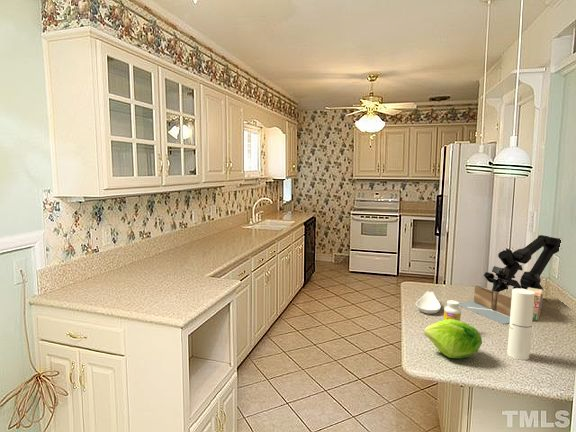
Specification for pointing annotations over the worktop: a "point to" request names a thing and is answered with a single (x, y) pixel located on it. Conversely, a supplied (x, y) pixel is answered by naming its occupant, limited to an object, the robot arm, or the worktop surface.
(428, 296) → the spoon rest
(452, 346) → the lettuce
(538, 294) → the stack of blocks
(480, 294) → the wooden board
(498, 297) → the fence post and fixed panel
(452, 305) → the supplement bottle
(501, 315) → the card
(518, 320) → the cylindrical container
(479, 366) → the worktop surface
